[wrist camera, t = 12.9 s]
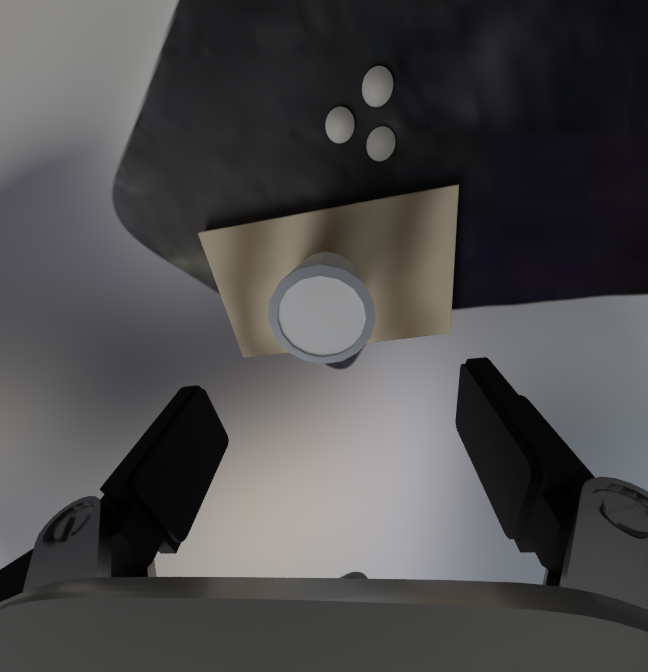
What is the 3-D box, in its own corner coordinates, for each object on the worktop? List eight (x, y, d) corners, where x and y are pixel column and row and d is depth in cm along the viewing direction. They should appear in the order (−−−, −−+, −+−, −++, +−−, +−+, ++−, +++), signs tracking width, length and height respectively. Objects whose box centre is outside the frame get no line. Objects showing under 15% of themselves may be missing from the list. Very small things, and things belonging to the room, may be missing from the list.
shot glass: (327, 335, 25) (323, 381, 19) (270, 285, 23) (245, 320, 17) (383, 284, 23) (399, 319, 17) (324, 224, 21) (318, 238, 15)
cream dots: (391, 63, 17) (392, 62, 17) (395, 158, 19) (395, 157, 19) (319, 81, 18) (319, 80, 18) (331, 171, 20) (331, 170, 20)
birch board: (452, 185, 20) (458, 185, 19) (445, 327, 26) (450, 333, 25) (204, 231, 23) (197, 233, 22) (247, 351, 28) (243, 357, 27)
